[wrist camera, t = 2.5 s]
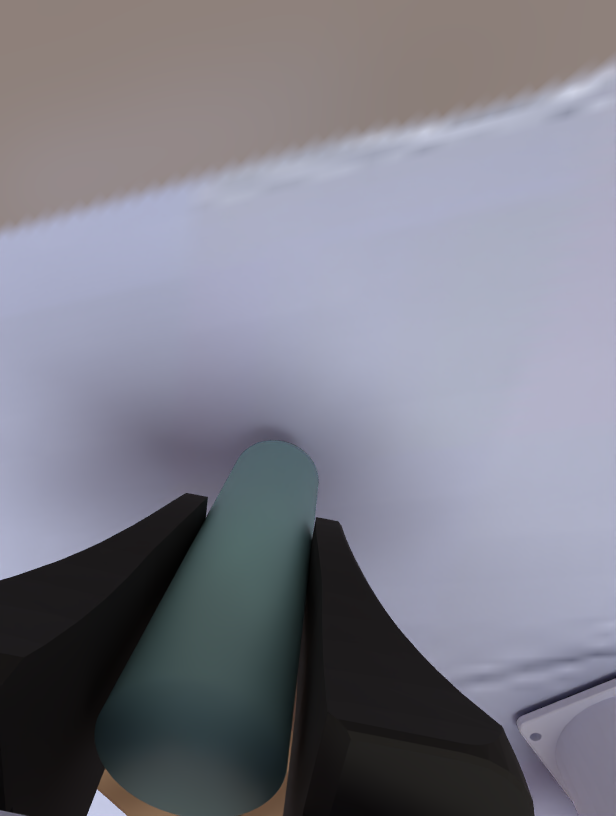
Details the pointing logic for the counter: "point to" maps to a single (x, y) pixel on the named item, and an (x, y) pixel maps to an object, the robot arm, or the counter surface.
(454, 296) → the counter surface
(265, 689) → the peg
